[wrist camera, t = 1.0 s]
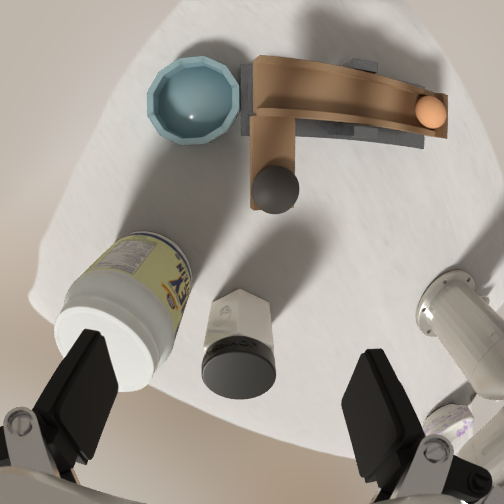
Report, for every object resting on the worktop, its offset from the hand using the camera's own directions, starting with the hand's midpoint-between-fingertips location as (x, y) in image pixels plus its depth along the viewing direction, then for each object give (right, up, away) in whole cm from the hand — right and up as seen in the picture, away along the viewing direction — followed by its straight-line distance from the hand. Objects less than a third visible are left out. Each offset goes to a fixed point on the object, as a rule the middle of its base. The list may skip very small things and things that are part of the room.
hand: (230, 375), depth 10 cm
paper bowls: (+49, -38, +46) cm, 77 cm away
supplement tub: (-13, +2, +29) cm, 31 cm away
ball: (+19, +19, +14) cm, 30 cm away
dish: (-5, +21, +20) cm, 30 cm away
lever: (+11, +15, +16) cm, 24 cm away
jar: (-1, -4, +31) cm, 32 cm away
